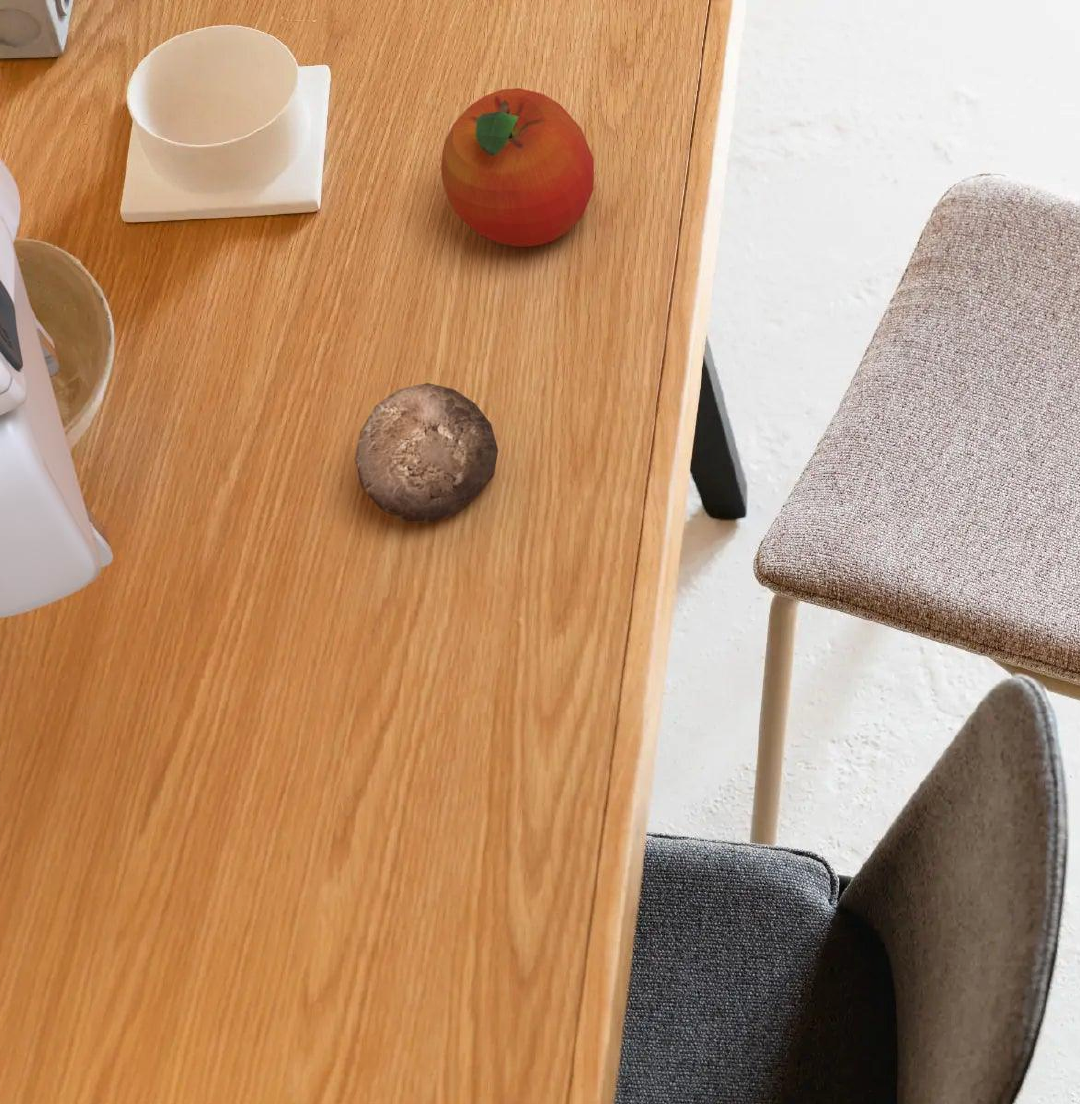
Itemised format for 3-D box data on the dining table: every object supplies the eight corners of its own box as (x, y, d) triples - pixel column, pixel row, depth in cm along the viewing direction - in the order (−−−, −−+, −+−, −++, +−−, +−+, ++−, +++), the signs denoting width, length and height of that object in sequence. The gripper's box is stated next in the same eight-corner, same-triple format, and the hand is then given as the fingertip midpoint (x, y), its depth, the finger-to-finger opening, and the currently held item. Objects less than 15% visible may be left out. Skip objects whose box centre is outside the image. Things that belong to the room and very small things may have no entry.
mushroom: (339, 394, 86) (358, 377, 81) (476, 392, 90) (502, 376, 84) (350, 530, 86) (369, 523, 80) (486, 523, 90) (513, 515, 84)
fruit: (615, 165, 99) (592, 48, 90) (589, 276, 94) (562, 164, 86) (476, 156, 100) (440, 39, 91) (444, 265, 95) (402, 153, 86)
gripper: (-303, 19, 48) (-68, 294, 60) (-230, 505, 38) (30, 713, 51) (-103, -41, 49) (88, 240, 61) (14, 416, 40) (211, 640, 52)
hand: (62, 458), depth 56 cm, fingers open, 8 cm apart
